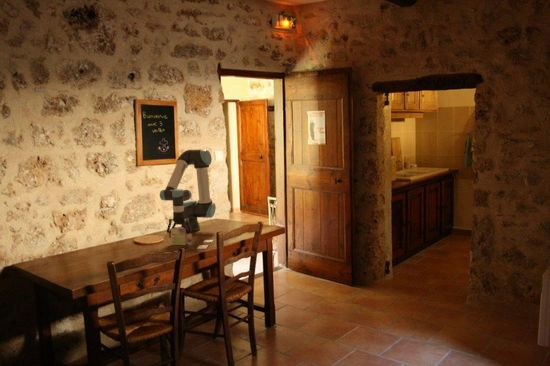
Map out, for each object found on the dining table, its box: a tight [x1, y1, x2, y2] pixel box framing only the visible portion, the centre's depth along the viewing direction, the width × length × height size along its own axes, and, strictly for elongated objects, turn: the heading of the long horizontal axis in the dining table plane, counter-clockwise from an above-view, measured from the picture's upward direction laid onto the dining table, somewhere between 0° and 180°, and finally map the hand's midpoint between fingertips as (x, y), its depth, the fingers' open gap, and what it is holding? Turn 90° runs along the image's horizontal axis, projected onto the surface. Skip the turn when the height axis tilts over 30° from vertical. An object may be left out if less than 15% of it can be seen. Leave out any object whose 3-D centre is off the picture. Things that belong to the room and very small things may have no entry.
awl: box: [187, 232, 193, 248], centre depth 351 cm, size 3×3×9 cm
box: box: [170, 226, 188, 246], centre depth 358 cm, size 10×6×12 cm, turn 84°
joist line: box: [196, 239, 214, 250], centre depth 355 cm, size 24×6×1 cm, turn 174°
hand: (179, 242), depth 358 cm, fingers closed on box, 10 cm apart
